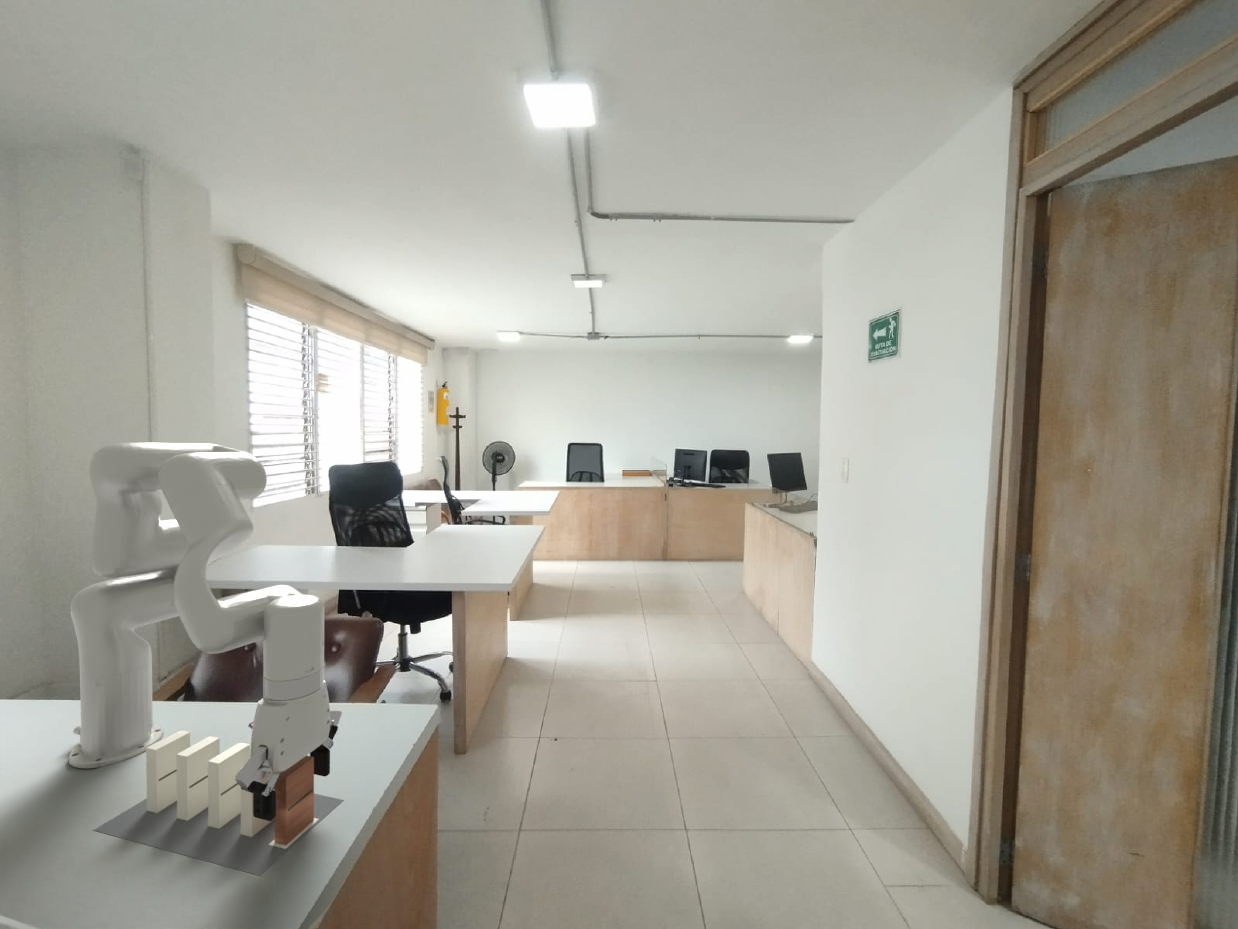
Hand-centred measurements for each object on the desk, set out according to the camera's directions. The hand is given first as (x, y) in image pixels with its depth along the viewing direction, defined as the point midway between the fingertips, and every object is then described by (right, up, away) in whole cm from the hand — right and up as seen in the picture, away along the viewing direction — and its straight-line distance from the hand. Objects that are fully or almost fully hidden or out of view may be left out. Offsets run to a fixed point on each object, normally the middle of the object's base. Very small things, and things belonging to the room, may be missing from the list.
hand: (293, 794), depth 77 cm
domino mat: (-13, -6, +3) cm, 14 cm away
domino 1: (-23, -5, +6) cm, 24 cm away
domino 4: (-6, -5, +2) cm, 8 cm away
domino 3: (-12, -5, +3) cm, 13 cm away
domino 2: (-18, -5, +4) cm, 19 cm away
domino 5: (0, -6, 0) cm, 6 cm away
